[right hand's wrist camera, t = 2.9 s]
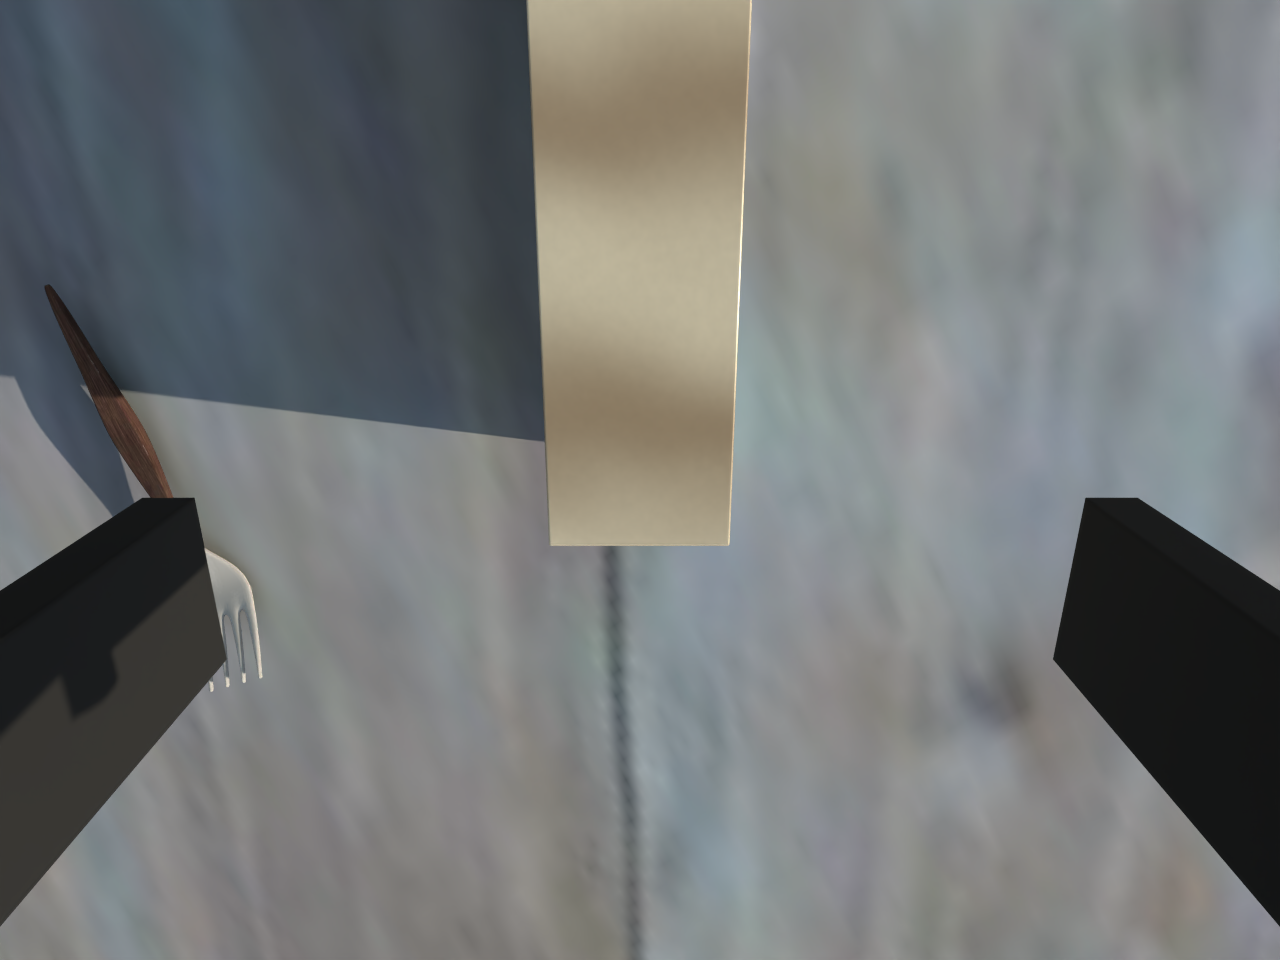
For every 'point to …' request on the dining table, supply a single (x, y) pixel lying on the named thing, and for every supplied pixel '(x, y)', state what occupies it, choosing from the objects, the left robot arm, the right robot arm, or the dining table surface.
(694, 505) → the birch rail
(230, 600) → the fork
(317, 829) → the dining table surface
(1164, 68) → the dining table surface
